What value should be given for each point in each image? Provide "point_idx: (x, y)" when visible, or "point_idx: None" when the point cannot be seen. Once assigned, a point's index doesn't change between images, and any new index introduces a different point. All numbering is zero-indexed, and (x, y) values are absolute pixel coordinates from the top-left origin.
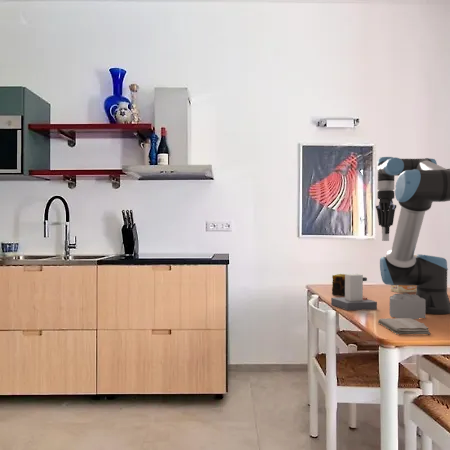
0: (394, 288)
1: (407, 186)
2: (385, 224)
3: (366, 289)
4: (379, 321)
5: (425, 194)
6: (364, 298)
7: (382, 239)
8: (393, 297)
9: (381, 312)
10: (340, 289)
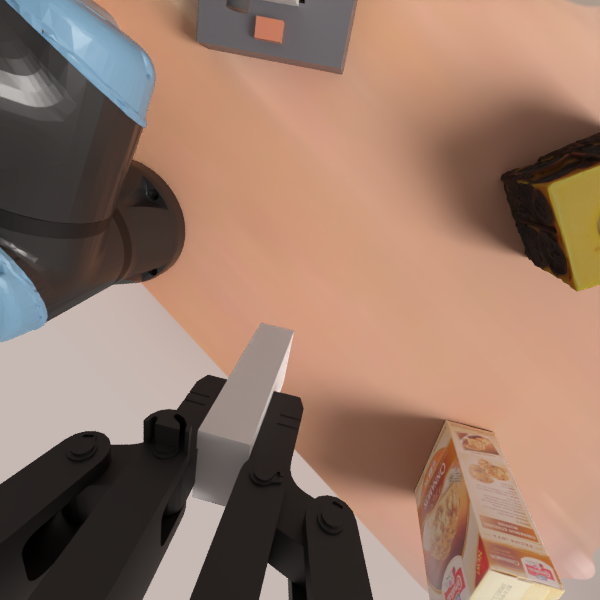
0: (473, 434)
1: None
2: (144, 460)
3: (592, 391)
4: None
5: None
6: (256, 19)
7: (285, 336)
8: None
9: (145, 7)
10: (573, 152)
